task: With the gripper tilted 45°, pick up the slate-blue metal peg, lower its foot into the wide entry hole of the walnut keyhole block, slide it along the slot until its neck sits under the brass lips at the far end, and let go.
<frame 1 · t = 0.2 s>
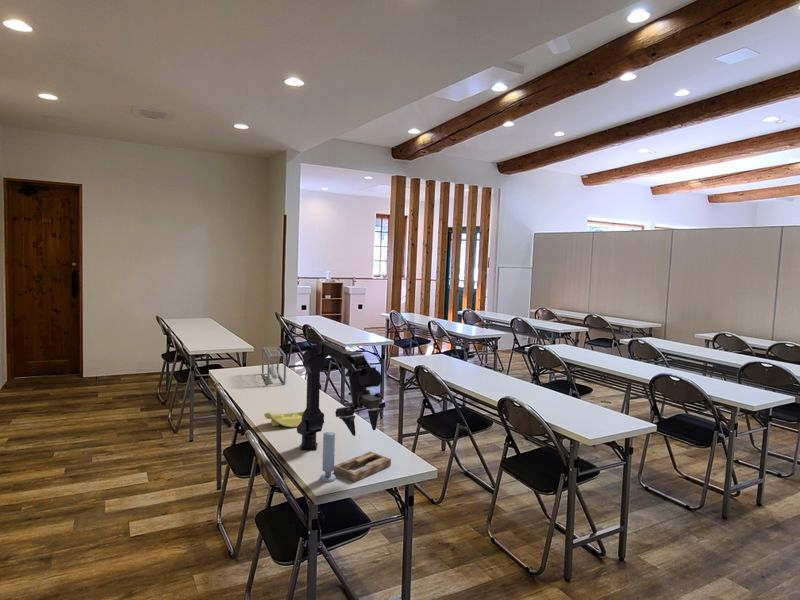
hand: (364, 432, 178), 15 cm above the table, tool tilted 15°, fingers open, 9 cm apart
slate peg: (327, 478, 176), on the table
keyhole block: (362, 469, 185), on the table
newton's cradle: (273, 379, 309), on the table
banana: (287, 424, 230), on the table
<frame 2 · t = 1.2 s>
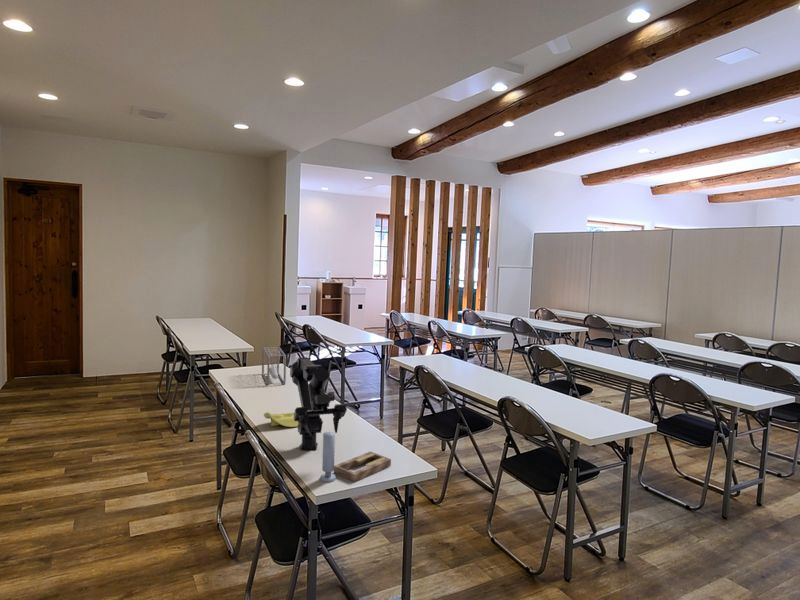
hand: (323, 433, 181), 13 cm above the table, tool tilted 45°, fingers open, 9 cm apart
nothing on the table moved.
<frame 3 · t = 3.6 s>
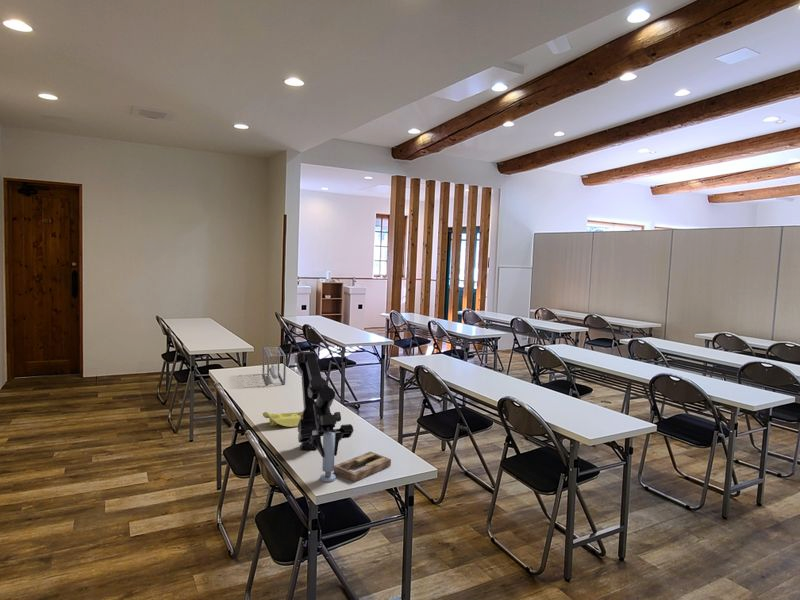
hand: (329, 456, 174), 9 cm above the table, tool tilted 45°, fingers closed on slate peg, 4 cm apart
slate peg: (327, 478, 176), on the table, touching gripper
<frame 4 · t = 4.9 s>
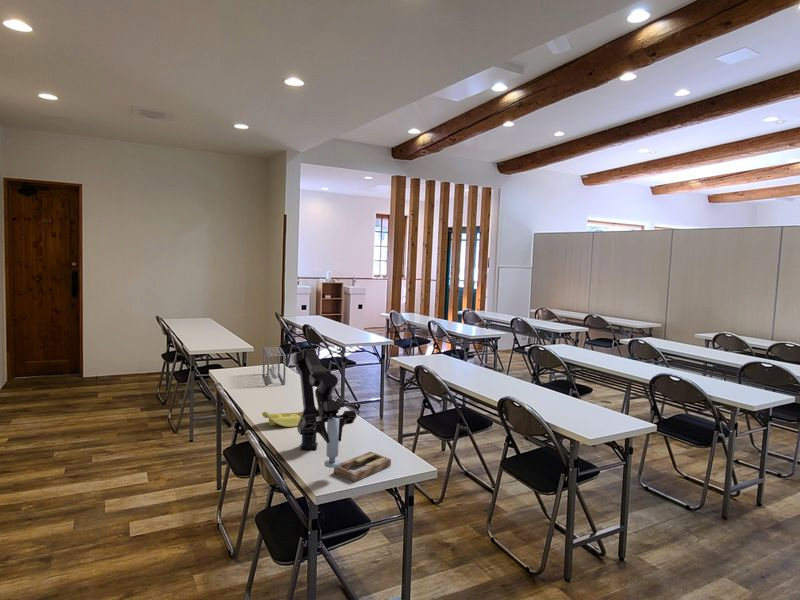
hand: (334, 441, 174), 13 cm above the table, tool tilted 45°, fingers closed on slate peg, 4 cm apart
slate peg: (332, 464, 176), point 5 cm above the table, touching gripper
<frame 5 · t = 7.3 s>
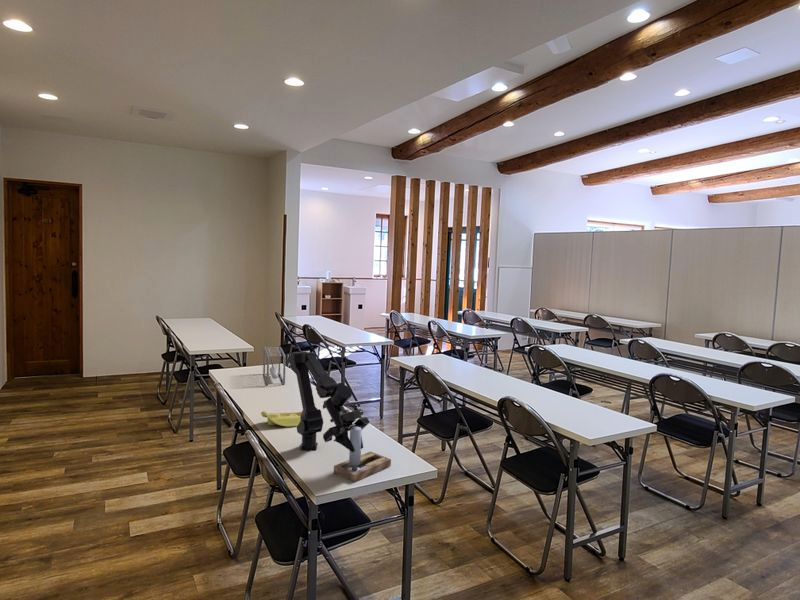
hand: (358, 449, 180), 9 cm above the table, tool tilted 45°, fingers closed on slate peg, 4 cm apart
slate peg: (354, 472, 181), resting in keyhole block, touching gripper
when the fingers open (9 cm above the table, at t = 10.8 s): slate peg stays where it is, resting in keyhole block.
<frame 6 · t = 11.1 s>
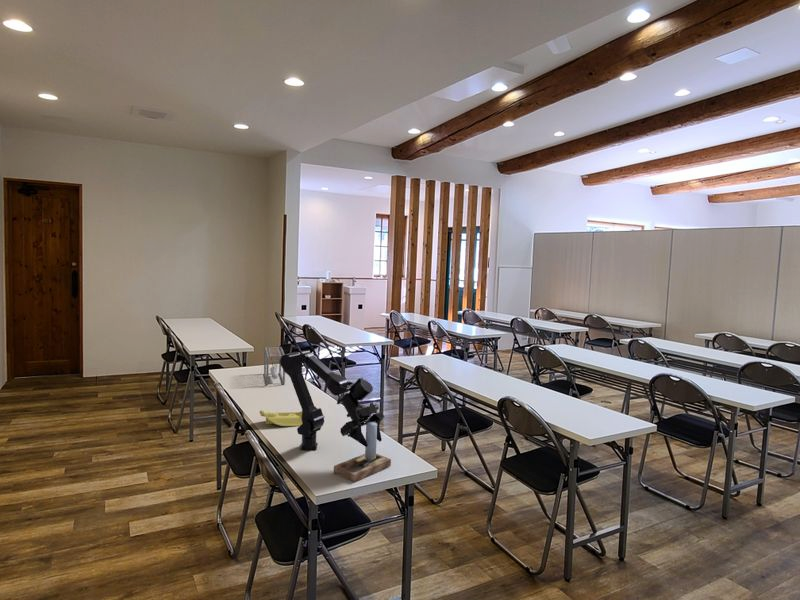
hand: (373, 443, 186), 9 cm above the table, tool tilted 45°, fingers open, 7 cm apart
slate peg: (370, 466, 188), resting in keyhole block
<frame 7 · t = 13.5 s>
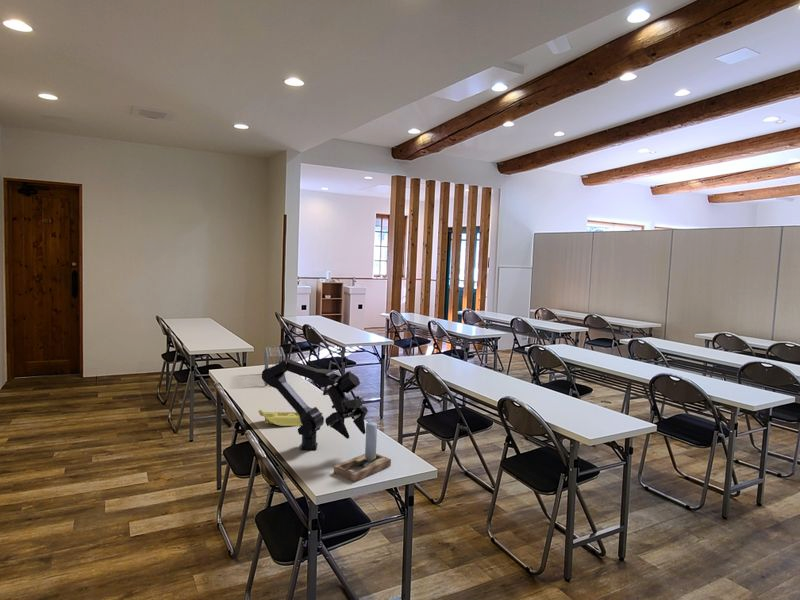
hand: (356, 435, 191), 10 cm above the table, tool tilted 40°, fingers open, 9 cm apart
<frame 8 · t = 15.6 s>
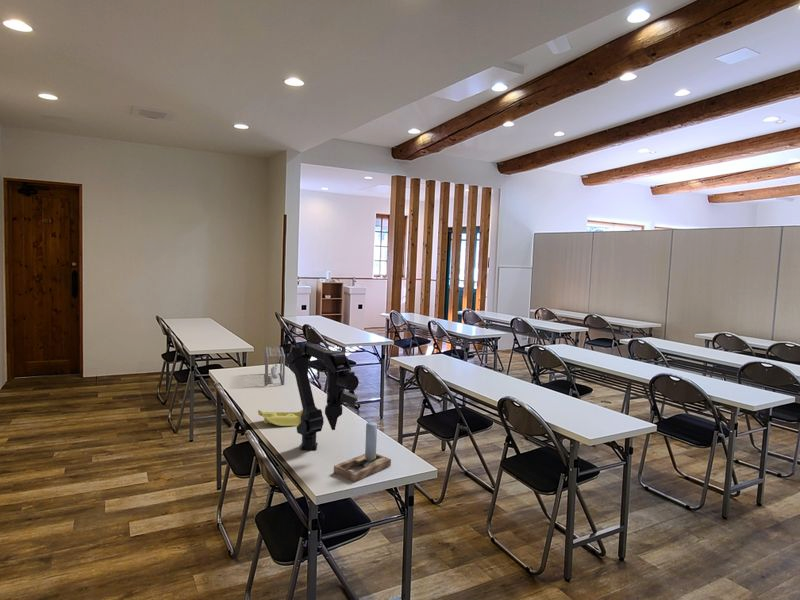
hand: (333, 425, 192), 13 cm above the table, tool pointing down, fingers open, 9 cm apart
at the end: slate peg 0.3 cm from the target spot on the keyhole block, point 0.0 cm above the keyhole block's base; slate peg tilted 0°; the gripper is holding nothing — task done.
